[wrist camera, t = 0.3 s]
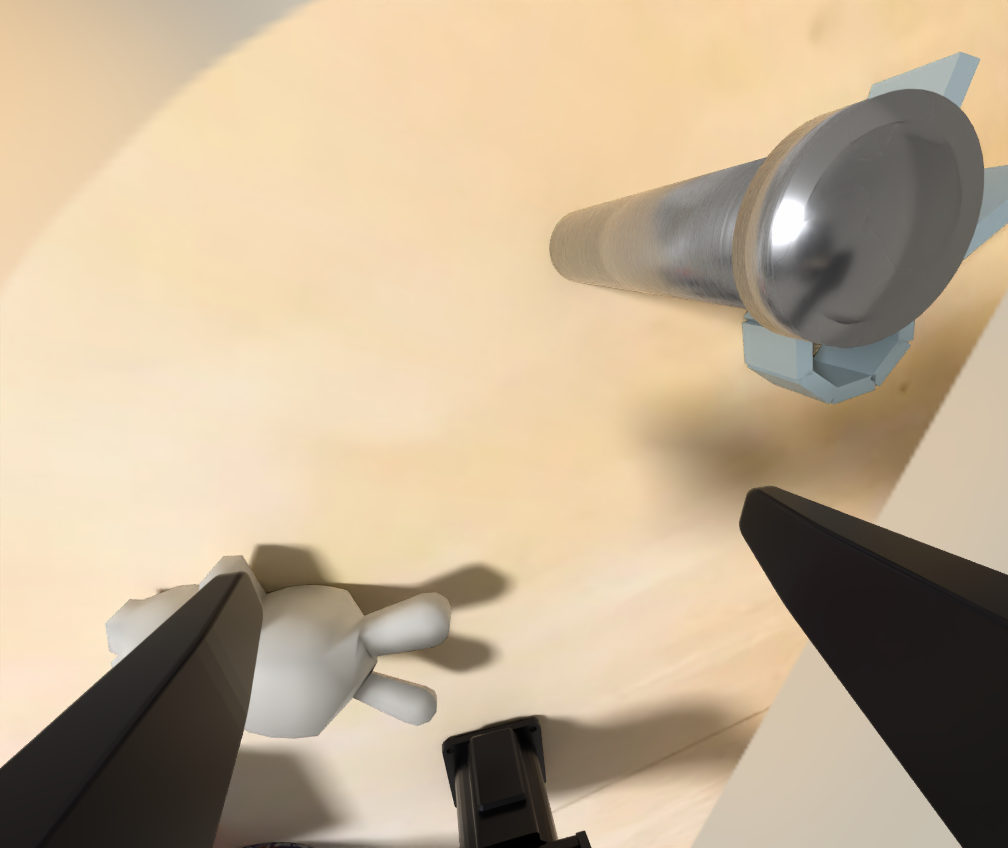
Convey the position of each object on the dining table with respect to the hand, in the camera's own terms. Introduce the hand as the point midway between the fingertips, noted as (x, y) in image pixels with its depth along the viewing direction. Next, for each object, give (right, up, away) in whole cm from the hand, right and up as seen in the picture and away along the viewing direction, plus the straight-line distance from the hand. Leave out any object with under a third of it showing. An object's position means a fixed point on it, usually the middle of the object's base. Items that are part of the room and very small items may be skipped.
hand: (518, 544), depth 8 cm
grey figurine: (-11, -8, +16) cm, 22 cm away
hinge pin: (+3, +10, +12) cm, 16 cm away
